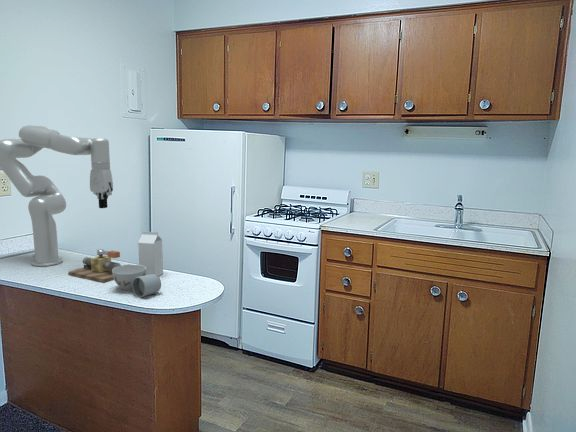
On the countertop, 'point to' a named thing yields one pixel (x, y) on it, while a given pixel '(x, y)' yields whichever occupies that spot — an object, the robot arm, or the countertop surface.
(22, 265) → the countertop surface
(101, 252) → the valve lever
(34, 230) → the robot arm
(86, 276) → the stand
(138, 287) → the ceramic mug
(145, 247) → the milk carton
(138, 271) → the teacup
